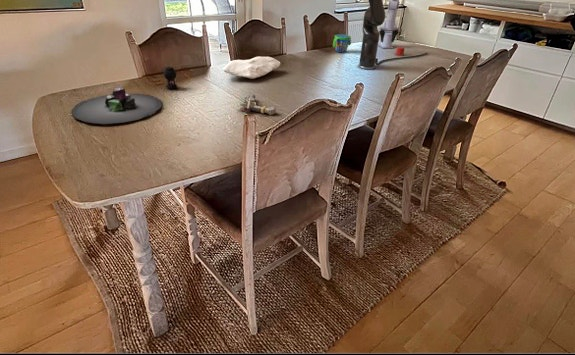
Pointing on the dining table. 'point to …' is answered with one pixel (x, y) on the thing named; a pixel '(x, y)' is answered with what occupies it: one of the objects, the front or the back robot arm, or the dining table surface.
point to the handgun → (255, 106)
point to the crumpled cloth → (252, 67)
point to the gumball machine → (170, 77)
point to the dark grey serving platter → (116, 108)
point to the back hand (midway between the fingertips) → (387, 42)
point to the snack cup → (341, 42)
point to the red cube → (400, 51)
